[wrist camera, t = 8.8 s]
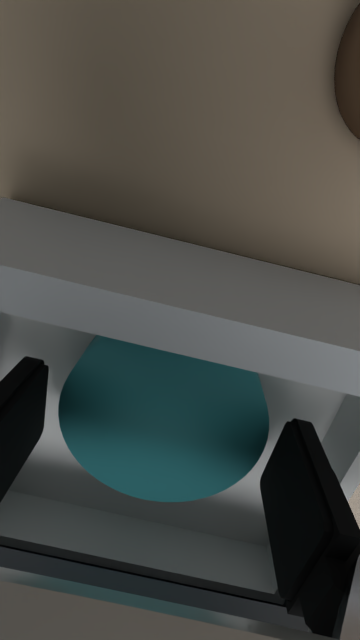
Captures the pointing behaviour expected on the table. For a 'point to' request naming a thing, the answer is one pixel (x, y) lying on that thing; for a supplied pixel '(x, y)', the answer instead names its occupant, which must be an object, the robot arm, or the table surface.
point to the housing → (149, 587)
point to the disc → (162, 421)
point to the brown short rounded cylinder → (349, 74)
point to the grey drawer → (181, 338)
